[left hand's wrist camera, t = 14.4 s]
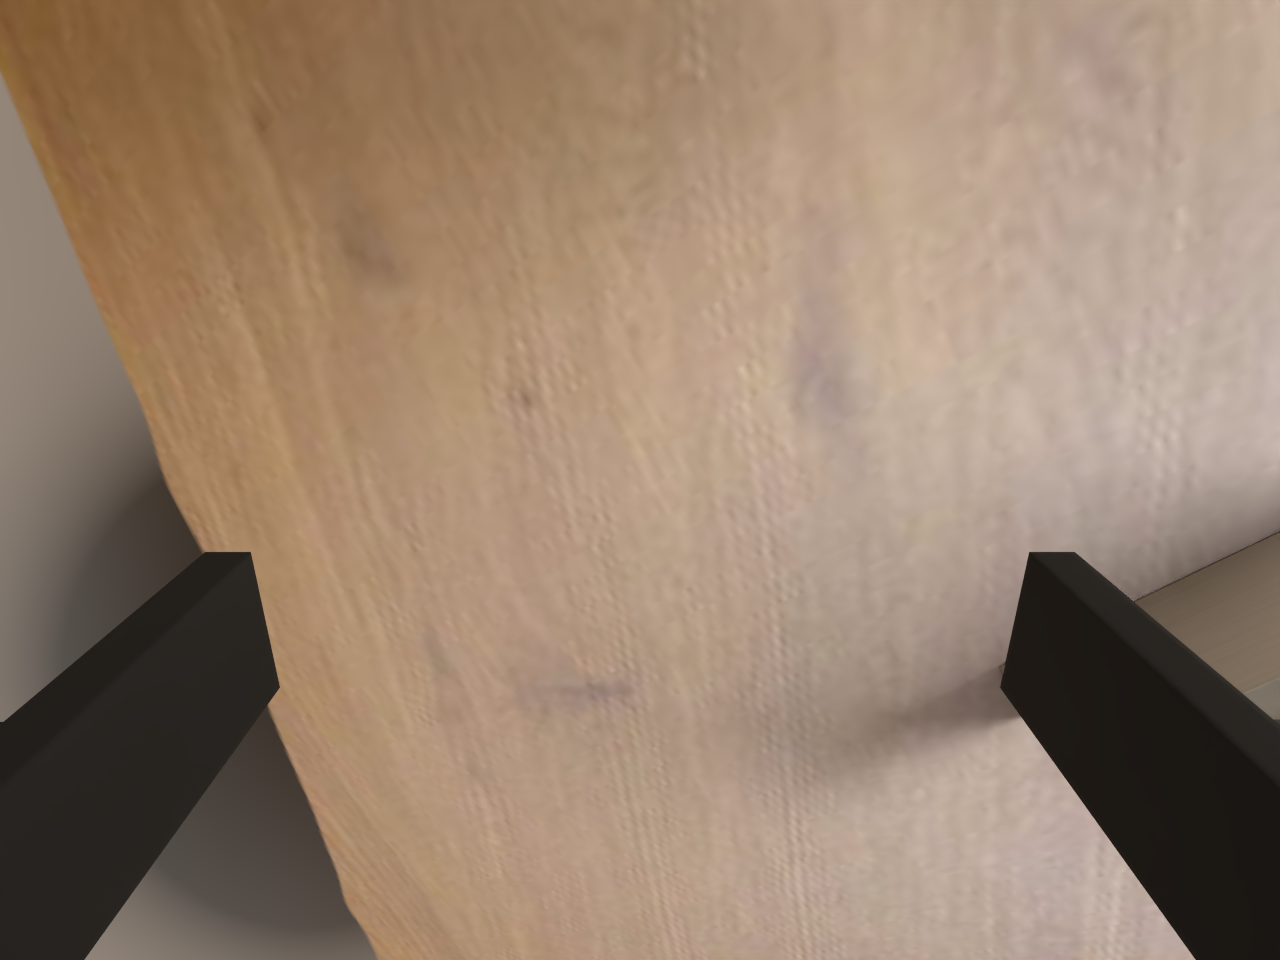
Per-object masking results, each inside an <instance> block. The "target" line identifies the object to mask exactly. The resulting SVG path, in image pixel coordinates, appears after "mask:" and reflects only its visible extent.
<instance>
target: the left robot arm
mask: <svg viewBox="0 0 1280 960" xmlns="http://www.w3.org/2000/svg"><path fill="white" fill-rule="evenodd" d="M279 688H280V686H279V681H278V677H277V672H276V667H275V663H274V658H273V654H272V649H271V644H270V640H269V635H268V630H267V626H266V621H265V616H264V612H263V607H262V602H261V598H260V593H259V589H258V584H257V579H256V575H255V570H254V565H253V561H252V556H251V552H205V553H204V554H202V555H201V556H200V557H199V558H198V559H196V560H195V561H194V562H193V563H192V564H191V565H189V566H188V567H187V568H186V569H185V570H183V571H182V572H181V573H180V574H179V575H177V576H176V577H175V578H174V579H173V580H172V581H170V582H169V583H168V584H167V585H166V586H165V587H163V588H162V589H161V590H160V591H159V592H157V593H156V594H155V595H154V596H153V597H151V598H150V599H149V600H148V601H147V602H145V603H144V604H143V605H142V606H141V607H140V608H138V609H137V610H136V611H135V612H134V613H132V614H131V615H130V616H129V617H128V618H126V619H125V620H124V621H123V622H122V623H121V624H119V625H118V626H117V627H116V628H115V629H113V630H112V631H111V632H110V633H109V634H107V635H106V636H105V637H104V638H103V639H102V640H100V641H99V642H98V643H97V644H96V645H94V646H93V647H92V648H91V649H90V650H89V651H87V652H86V653H85V654H84V655H82V656H81V657H80V658H79V659H78V660H77V661H75V662H74V663H73V664H72V665H71V666H69V667H68V668H67V669H66V670H65V671H63V672H62V673H61V674H60V675H59V676H58V677H56V678H55V679H54V680H53V681H52V682H50V683H49V684H48V685H47V686H46V687H45V688H43V689H42V690H41V691H40V692H39V693H37V694H36V695H35V696H34V697H33V698H31V699H30V700H29V701H28V702H27V703H26V704H24V705H23V706H22V707H21V708H20V709H18V710H17V711H16V712H15V713H14V714H12V715H11V716H10V717H9V718H8V719H6V720H5V721H4V722H0V960H84V959H85V958H86V957H87V955H88V954H89V952H90V951H91V950H92V948H93V947H94V945H95V944H96V943H97V941H98V940H99V938H100V937H101V936H102V934H103V933H104V932H105V930H106V929H107V927H108V926H109V925H110V923H111V922H112V920H113V919H114V918H115V916H116V915H117V913H118V912H119V911H120V909H121V908H122V906H123V905H124V904H125V902H126V901H127V899H128V898H129V897H130V895H131V894H132V892H133V891H134V890H135V888H136V887H137V886H138V884H139V883H140V881H141V880H142V879H143V877H144V876H145V874H146V873H147V872H148V870H149V869H150V867H151V866H152V865H153V863H154V862H155V860H156V859H157V858H158V856H159V855H160V854H161V852H162V851H163V849H164V848H165V847H166V845H167V844H168V842H169V841H170V840H171V838H172V837H173V835H174V834H175V833H176V831H177V830H178V828H179V827H180V826H181V824H182V823H183V822H184V820H185V819H186V817H187V816H188V815H189V813H190V812H191V810H192V809H193V807H194V806H195V805H196V803H197V802H198V801H199V799H200V798H201V796H202V795H203V794H204V792H205V791H206V790H207V788H208V787H209V785H210V784H211V783H212V781H213V780H214V778H215V777H216V776H217V774H218V773H219V771H220V770H221V769H222V767H223V766H224V764H225V763H226V762H227V760H228V759H229V757H230V756H231V755H232V753H233V752H234V750H235V749H236V748H237V746H238V745H239V744H240V742H241V741H242V739H243V738H244V737H245V735H246V734H247V732H248V731H249V730H250V728H251V727H252V725H253V724H254V723H255V721H256V720H257V719H258V717H259V716H260V714H261V713H262V712H263V710H264V709H265V707H266V706H267V705H268V703H269V702H270V700H271V699H272V698H273V696H274V695H275V693H276V692H277V691H278V689H279ZM1000 688H1001V689H1002V691H1003V692H1004V693H1005V695H1006V696H1007V698H1008V699H1009V700H1010V702H1011V703H1012V705H1013V706H1014V707H1015V709H1016V710H1017V712H1018V713H1019V714H1020V716H1021V717H1022V719H1023V720H1024V721H1025V723H1026V724H1027V725H1028V727H1029V728H1030V730H1031V731H1032V732H1033V734H1034V735H1035V737H1036V738H1037V739H1038V741H1039V742H1040V744H1041V745H1042V746H1043V748H1044V749H1045V751H1046V752H1047V753H1048V755H1049V756H1050V757H1051V759H1052V760H1053V762H1054V763H1055V764H1056V766H1057V767H1058V769H1059V770H1060V771H1061V773H1062V774H1063V776H1064V777H1065V778H1066V780H1067V781H1068V783H1069V784H1070V785H1071V787H1072V788H1073V790H1074V791H1075V792H1076V794H1077V795H1078V796H1079V798H1080V799H1081V801H1082V802H1083V803H1084V805H1085V806H1086V808H1087V809H1088V810H1089V812H1090V813H1091V815H1092V816H1093V817H1094V819H1095V820H1096V822H1097V823H1098V824H1099V826H1100V827H1101V828H1102V830H1103V831H1104V833H1105V834H1106V835H1107V837H1108V838H1109V840H1110V841H1111V842H1112V844H1113V845H1114V847H1115V848H1116V849H1117V851H1118V852H1119V854H1120V855H1121V856H1122V858H1123V859H1124V861H1125V862H1126V863H1127V865H1128V866H1129V867H1130V869H1131V870H1132V872H1133V873H1134V874H1135V876H1136V877H1137V879H1138V880H1139V881H1140V883H1141V884H1142V886H1143V887H1144V888H1145V890H1146V891H1147V893H1148V894H1149V895H1150V897H1151V898H1152V899H1153V901H1154V902H1155V904H1156V905H1157V906H1158V908H1159V909H1160V911H1161V912H1162V913H1163V915H1164V916H1165V918H1166V919H1167V920H1168V922H1169V923H1170V925H1171V926H1172V927H1173V929H1174V930H1175V932H1176V933H1177V934H1178V936H1179V937H1180V938H1181V940H1182V941H1183V943H1184V944H1185V945H1186V947H1187V948H1188V950H1189V951H1190V952H1191V954H1192V955H1193V957H1194V958H1195V959H1196V960H1280V719H1272V718H1271V717H1270V716H1269V715H1268V714H1266V713H1265V712H1264V711H1263V710H1262V709H1260V708H1259V707H1258V706H1257V705H1256V704H1255V703H1253V702H1252V701H1251V700H1250V699H1249V698H1247V697H1246V696H1245V695H1244V694H1243V693H1241V692H1240V691H1239V690H1238V689H1237V688H1236V687H1234V686H1233V685H1232V684H1231V683H1230V682H1228V681H1227V680H1226V679H1225V678H1224V677H1222V676H1221V675H1220V674H1219V673H1218V672H1217V671H1215V670H1214V669H1213V668H1212V667H1211V666H1209V665H1208V664H1207V663H1206V662H1205V661H1203V660H1202V659H1201V658H1200V657H1199V656H1198V655H1196V654H1195V653H1194V652H1193V651H1192V650H1190V649H1189V648H1188V647H1187V646H1186V645H1184V644H1183V643H1182V642H1181V641H1180V640H1179V639H1177V638H1176V637H1175V636H1174V635H1173V634H1171V633H1170V632H1169V631H1168V630H1167V629H1165V628H1164V627H1163V626H1162V625H1161V624H1160V623H1158V622H1157V621H1156V620H1155V619H1154V618H1152V617H1151V616H1150V615H1149V614H1148V613H1146V612H1145V611H1144V610H1143V609H1142V608H1141V607H1139V606H1138V605H1137V604H1136V603H1135V602H1133V601H1132V600H1131V599H1130V598H1129V597H1127V596H1126V595H1125V594H1124V593H1123V592H1122V591H1120V590H1119V589H1118V588H1117V587H1116V586H1114V585H1113V584H1112V583H1111V582H1110V581H1108V580H1107V579H1106V578H1105V577H1104V576H1103V575H1101V574H1100V573H1099V572H1098V571H1097V570H1095V569H1094V568H1093V567H1092V566H1091V565H1089V564H1088V563H1087V562H1086V561H1085V560H1084V559H1082V558H1081V557H1080V556H1079V555H1078V554H1076V553H1075V552H1029V556H1028V561H1027V565H1026V570H1025V575H1024V579H1023V584H1022V589H1021V593H1020V598H1019V602H1018V607H1017V612H1016V616H1015V621H1014V626H1013V630H1012V635H1011V640H1010V644H1009V649H1008V654H1007V658H1006V663H1005V667H1004V672H1003V677H1002V681H1001V686H1000Z"/></svg>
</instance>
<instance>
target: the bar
mask: <svg viewBox="0 0 1280 960" xmlns="http://www.w3.org/2000/svg"><path fill="white" fill-rule="evenodd" d="M1135 603H1136V604H1137V605H1138V606H1139V607H1141V608H1142V609H1143V610H1144V611H1145V612H1146V613H1148V614H1149V615H1150V616H1151V617H1152V618H1154V619H1155V620H1156V621H1157V622H1158V623H1160V624H1161V625H1162V626H1163V627H1164V628H1165V629H1167V630H1168V631H1169V632H1170V633H1171V634H1173V635H1174V636H1175V637H1176V638H1177V639H1179V640H1180V641H1181V642H1182V643H1183V644H1184V645H1186V646H1187V647H1188V648H1189V649H1190V650H1192V651H1193V652H1194V653H1195V654H1196V655H1198V656H1199V657H1200V658H1201V659H1202V660H1203V661H1205V662H1206V663H1207V664H1208V665H1209V666H1211V667H1212V668H1213V669H1214V670H1215V671H1217V672H1218V673H1219V674H1220V675H1221V676H1222V677H1224V678H1225V679H1226V680H1227V681H1228V682H1230V683H1231V684H1232V685H1233V686H1234V687H1236V688H1237V689H1238V690H1239V691H1240V692H1241V693H1243V694H1244V695H1245V696H1246V697H1247V698H1249V699H1250V700H1251V701H1252V702H1253V703H1255V704H1256V705H1257V706H1258V707H1259V708H1260V709H1262V710H1263V711H1264V712H1265V713H1266V714H1268V715H1269V716H1270V717H1271V718H1272V719H1280V532H1279V533H1277V534H1275V535H1273V536H1271V537H1268V538H1266V539H1264V540H1262V541H1260V542H1258V543H1256V544H1254V545H1252V546H1250V547H1248V548H1246V549H1243V550H1241V551H1239V552H1237V553H1235V554H1233V555H1231V556H1229V557H1227V558H1225V559H1223V560H1221V561H1218V562H1216V563H1214V564H1212V565H1210V566H1208V567H1206V568H1204V569H1202V570H1200V571H1198V572H1196V573H1193V574H1191V575H1189V576H1187V577H1185V578H1183V579H1181V580H1179V581H1177V582H1175V583H1173V584H1171V585H1168V586H1166V587H1164V588H1162V589H1160V590H1158V591H1156V592H1154V593H1152V594H1150V595H1148V596H1146V597H1143V598H1141V599H1139V600H1137V601H1135ZM1004 667H1005V664H1004V665H1002V666H1000V667H999V669H1000V671H1001V673H1002V674H1003V672H1004Z"/></svg>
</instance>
